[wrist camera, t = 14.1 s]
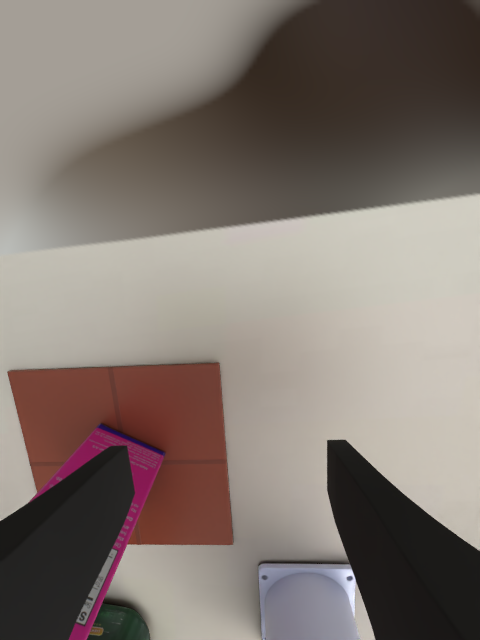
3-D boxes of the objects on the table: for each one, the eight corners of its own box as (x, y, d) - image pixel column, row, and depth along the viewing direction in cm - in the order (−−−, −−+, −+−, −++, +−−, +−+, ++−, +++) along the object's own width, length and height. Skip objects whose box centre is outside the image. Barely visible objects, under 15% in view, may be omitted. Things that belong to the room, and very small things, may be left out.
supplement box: (143, 506, 23) (36, 746, 12) (76, 477, 22) (-101, 693, 11) (170, 451, 21) (78, 660, 10) (99, 420, 21) (-74, 599, 10)
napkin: (233, 541, 23) (233, 545, 23) (52, 540, 24) (49, 544, 24) (219, 362, 20) (218, 364, 20) (10, 370, 21) (6, 371, 21)
